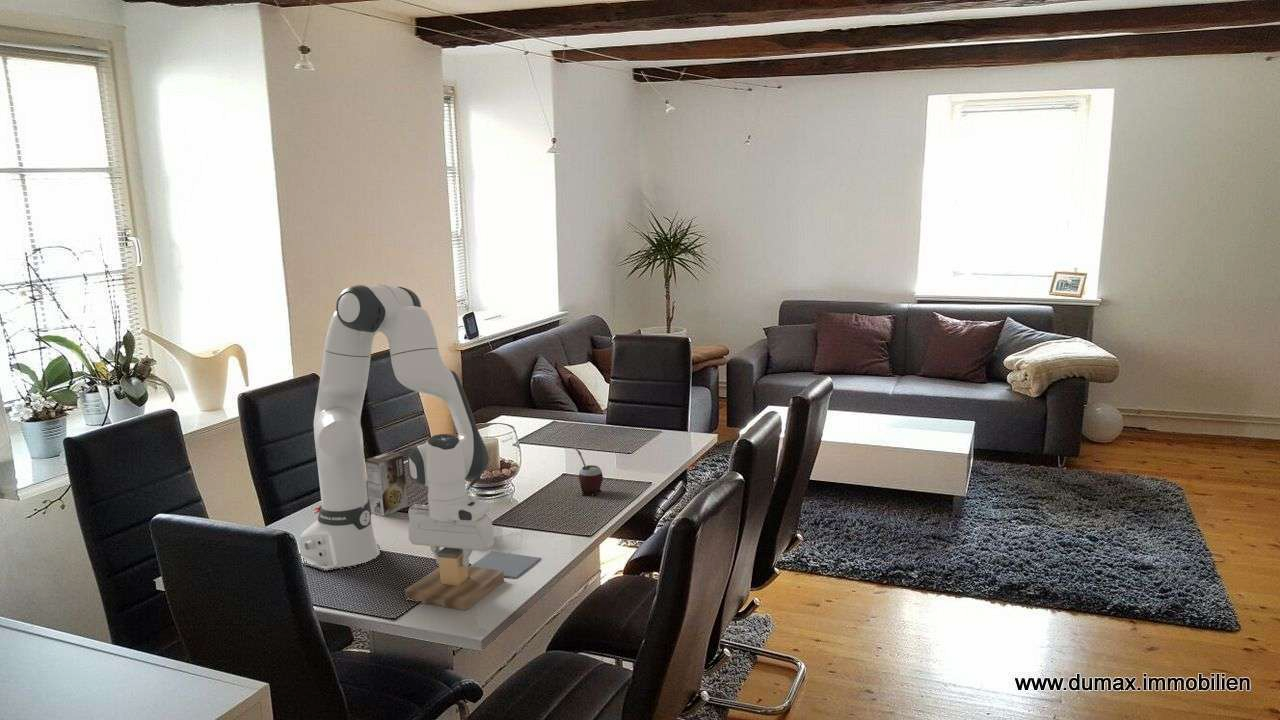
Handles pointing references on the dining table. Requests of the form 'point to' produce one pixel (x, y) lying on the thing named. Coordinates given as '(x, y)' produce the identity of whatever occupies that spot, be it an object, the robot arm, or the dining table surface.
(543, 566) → the dining table surface
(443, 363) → the robot arm
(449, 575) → the plug
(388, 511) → the coffee box
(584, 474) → the mate gourd
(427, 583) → the wooden socket board
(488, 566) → the slate mat
